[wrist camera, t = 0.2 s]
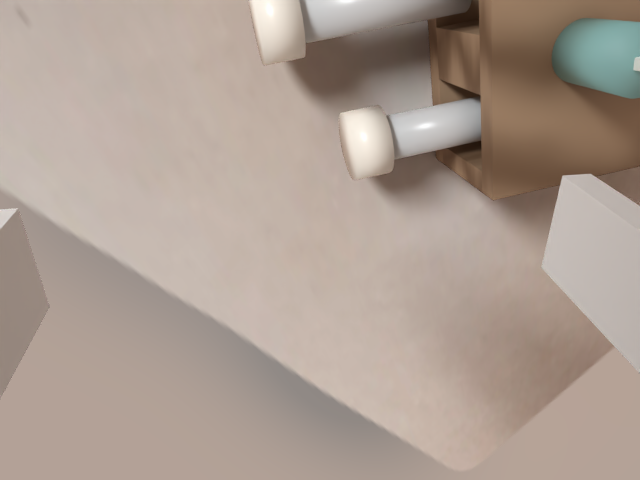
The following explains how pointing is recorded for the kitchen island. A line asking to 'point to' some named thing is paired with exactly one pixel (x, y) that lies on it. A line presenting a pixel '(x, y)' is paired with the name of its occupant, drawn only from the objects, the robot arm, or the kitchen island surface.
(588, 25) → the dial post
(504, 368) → the kitchen island surface
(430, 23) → the mount
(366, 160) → the knob
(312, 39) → the knob
